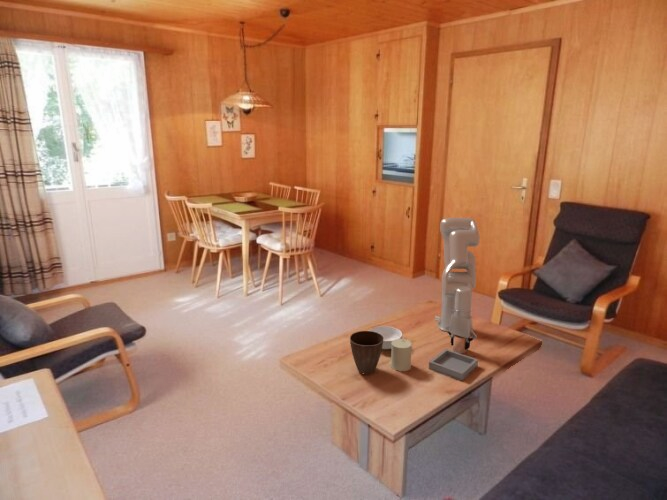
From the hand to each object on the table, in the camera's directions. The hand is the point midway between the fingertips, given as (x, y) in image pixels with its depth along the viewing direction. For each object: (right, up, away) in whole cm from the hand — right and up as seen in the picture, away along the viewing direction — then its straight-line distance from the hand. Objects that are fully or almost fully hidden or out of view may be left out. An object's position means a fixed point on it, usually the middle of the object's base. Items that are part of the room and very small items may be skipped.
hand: (460, 346), depth 220 cm
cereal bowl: (-36, -1, +6) cm, 36 cm away
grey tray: (-7, -6, -15) cm, 18 cm away
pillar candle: (-31, -6, -13) cm, 34 cm away
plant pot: (-47, -7, -16) cm, 50 cm away
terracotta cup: (0, -2, +1) cm, 2 cm away
